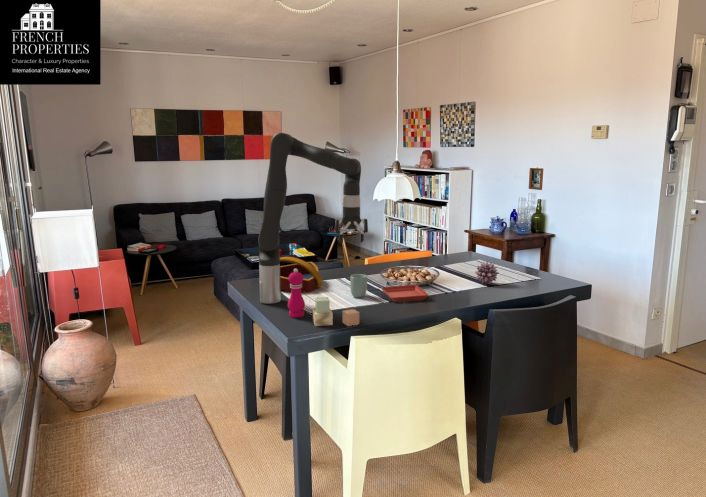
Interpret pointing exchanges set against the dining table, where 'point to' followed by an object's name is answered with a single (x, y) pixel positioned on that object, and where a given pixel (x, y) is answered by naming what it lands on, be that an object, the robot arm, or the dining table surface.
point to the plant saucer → (405, 293)
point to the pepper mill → (296, 295)
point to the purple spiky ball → (486, 273)
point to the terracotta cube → (350, 317)
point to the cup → (358, 285)
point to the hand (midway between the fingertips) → (351, 242)
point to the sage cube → (322, 305)
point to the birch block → (322, 318)
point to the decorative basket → (305, 268)
